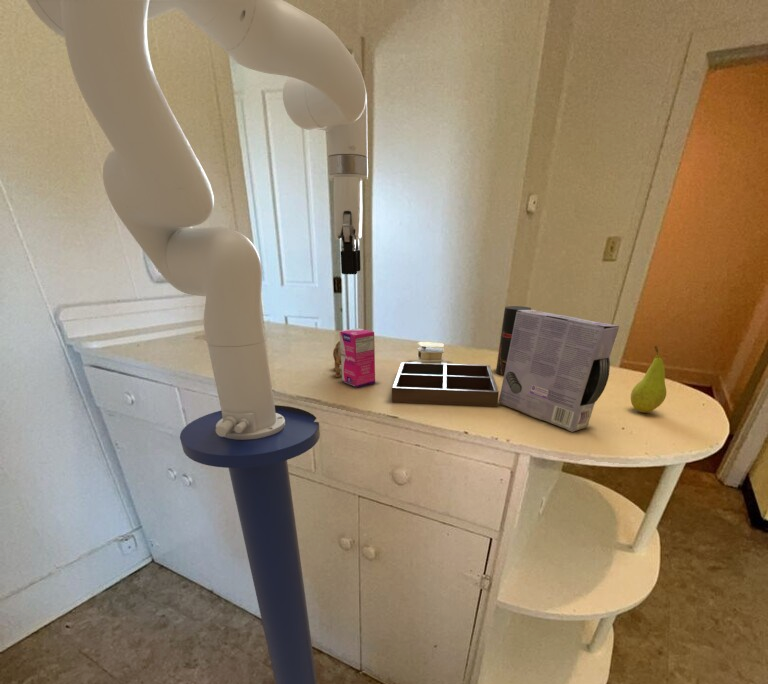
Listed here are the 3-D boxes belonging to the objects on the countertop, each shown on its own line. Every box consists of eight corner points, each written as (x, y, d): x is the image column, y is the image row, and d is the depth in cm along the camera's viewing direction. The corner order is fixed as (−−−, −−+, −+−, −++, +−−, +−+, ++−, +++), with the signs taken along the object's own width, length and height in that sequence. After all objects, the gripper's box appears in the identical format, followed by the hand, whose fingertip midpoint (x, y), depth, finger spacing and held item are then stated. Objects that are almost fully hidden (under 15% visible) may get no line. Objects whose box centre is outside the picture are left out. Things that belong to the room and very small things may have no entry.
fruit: (655, 419, 80) (679, 353, 74) (622, 412, 83) (642, 348, 77) (662, 411, 84) (685, 347, 77) (630, 405, 87) (650, 343, 81)
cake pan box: (595, 429, 76) (626, 322, 66) (577, 435, 74) (606, 325, 64) (513, 400, 90) (529, 308, 80) (496, 404, 87) (511, 310, 78)
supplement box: (341, 382, 100) (338, 330, 94) (361, 378, 103) (360, 327, 97) (355, 388, 96) (354, 334, 90) (376, 383, 99) (375, 331, 93)
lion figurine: (359, 379, 102) (358, 340, 97) (337, 381, 101) (335, 341, 96) (347, 364, 114) (345, 329, 109) (327, 366, 113) (324, 329, 108)
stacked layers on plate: (447, 362, 116) (449, 341, 113) (448, 371, 109) (450, 348, 106) (411, 361, 117) (412, 340, 114) (409, 369, 110) (410, 347, 107)
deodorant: (513, 369, 111) (523, 305, 103) (524, 375, 106) (535, 309, 98) (491, 370, 110) (500, 306, 102) (502, 376, 105) (512, 309, 97)
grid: (496, 406, 86) (498, 392, 84) (391, 402, 88) (391, 387, 87) (488, 377, 104) (489, 365, 102) (401, 374, 106) (401, 362, 104)
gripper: (334, 176, 89) (338, 270, 98) (322, 163, 74) (328, 275, 83) (369, 176, 89) (370, 270, 98) (365, 163, 74) (366, 275, 83)
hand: (351, 272), depth 91 cm, fingers open, 9 cm apart
